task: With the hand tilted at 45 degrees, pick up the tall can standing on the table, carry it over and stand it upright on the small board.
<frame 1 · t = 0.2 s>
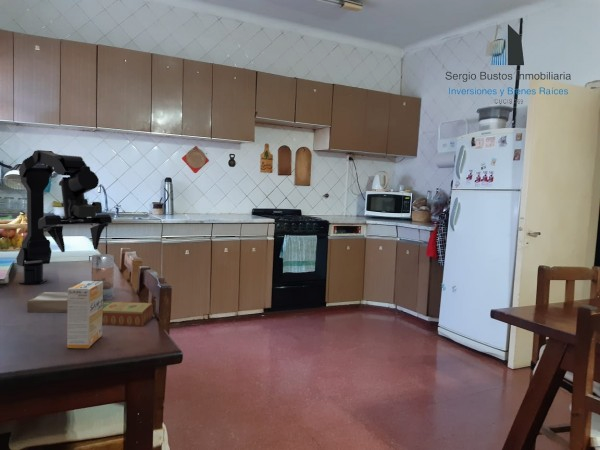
hand: (80, 250, 128), 15 cm above the table, tool tilted 15°, fingers open, 9 cm apart
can: (102, 298, 135), on the table
board: (54, 306, 124), on the table
carton: (116, 322, 115), on the table
supplement box: (85, 342, 99), on the table
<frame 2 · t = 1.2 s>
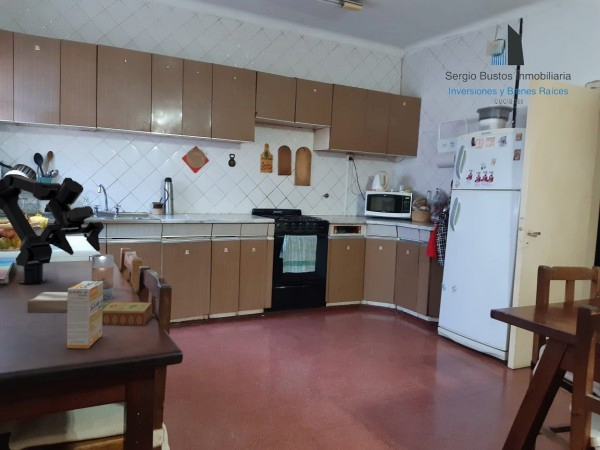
hand: (86, 252, 137), 13 cm above the table, tool tilted 45°, fingers open, 9 cm apart
nothing on the table moved.
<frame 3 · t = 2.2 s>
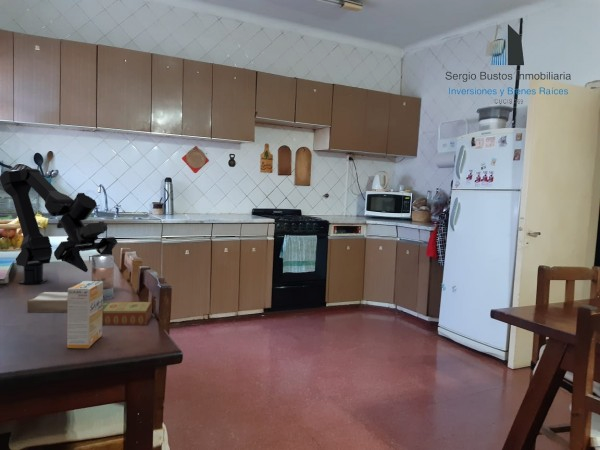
hand: (100, 269, 135), 9 cm above the table, tool tilted 45°, fingers open, 9 cm apart
nothing on the table moved.
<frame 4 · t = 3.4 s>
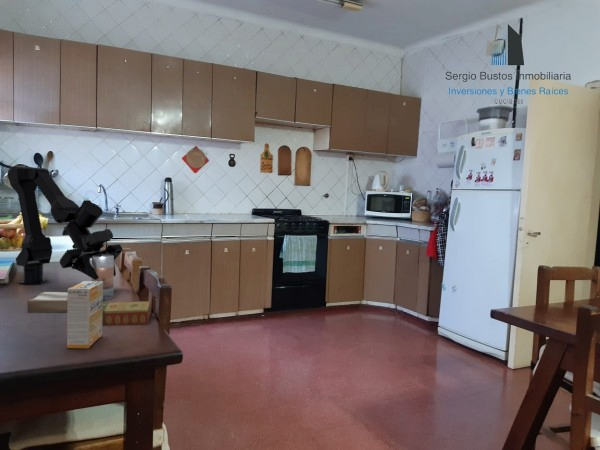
hand: (105, 277, 134), 7 cm above the table, tool tilted 45°, fingers closed on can, 6 cm apart
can: (102, 297, 135), on the table, touching gripper
everything else where it was.
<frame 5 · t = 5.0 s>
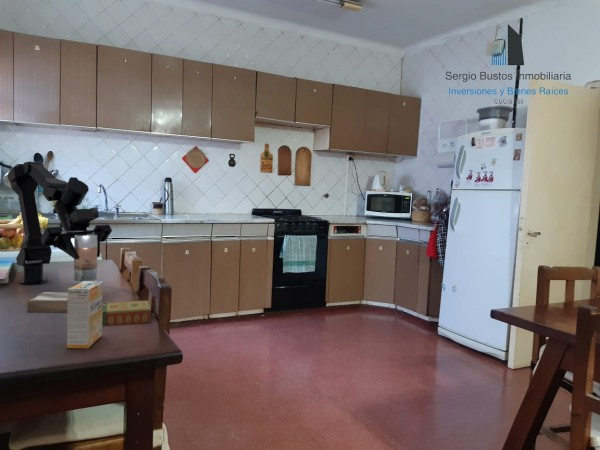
hand: (88, 257, 128), 13 cm above the table, tool tilted 45°, fingers closed on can, 6 cm apart
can: (85, 279, 130), point 7 cm above the table, touching gripper
when the fingers open (10 cm above the table, at t = 6.6 s): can stays where it is, resting on board.
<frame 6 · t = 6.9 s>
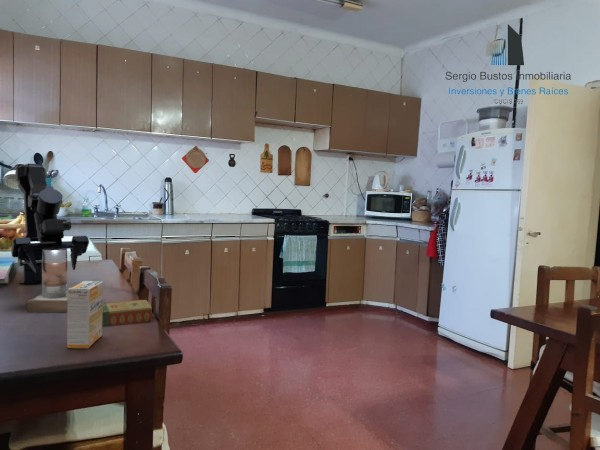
hand: (55, 270, 122), 11 cm above the table, tool tilted 45°, fingers open, 9 cm apart
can: (54, 295, 123), point 3 cm above the table, touching board
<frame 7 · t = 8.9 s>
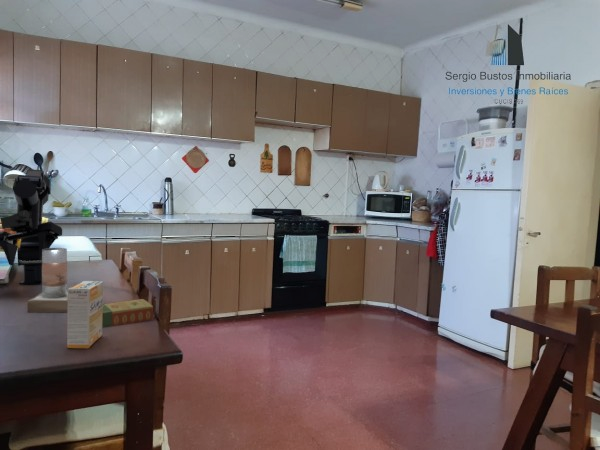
hand: (25, 261, 129), 11 cm above the table, tool tilted 30°, fingers open, 9 cm apart
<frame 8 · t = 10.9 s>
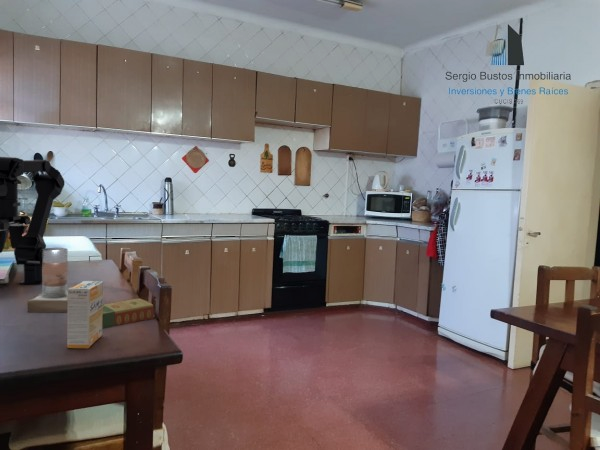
hand: (6, 250, 135), 13 cm above the table, tool pointing down, fingers open, 9 cm apart
at the end: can inside the target area on the board (0.1 cm from its centre), point 3.2 cm above the board's base; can tilted 2°; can touching board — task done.
